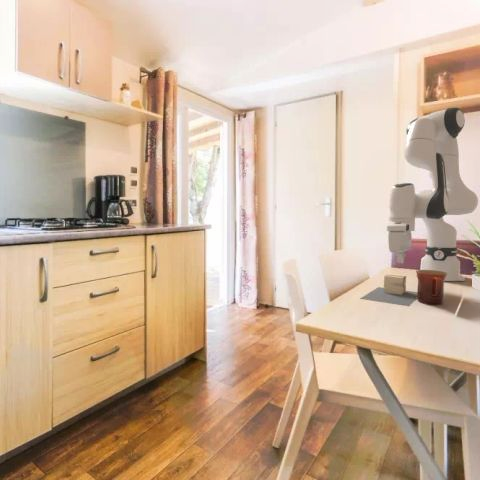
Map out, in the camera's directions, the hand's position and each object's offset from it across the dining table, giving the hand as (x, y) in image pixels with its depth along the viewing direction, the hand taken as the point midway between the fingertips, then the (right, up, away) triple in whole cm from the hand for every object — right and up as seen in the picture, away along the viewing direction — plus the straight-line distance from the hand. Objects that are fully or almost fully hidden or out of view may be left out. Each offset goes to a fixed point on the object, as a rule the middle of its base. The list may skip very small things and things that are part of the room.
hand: (400, 262), depth 130 cm
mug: (0, -12, -21) cm, 24 cm away
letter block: (-5, -10, -6) cm, 13 cm away
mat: (-8, -11, -11) cm, 18 cm away
